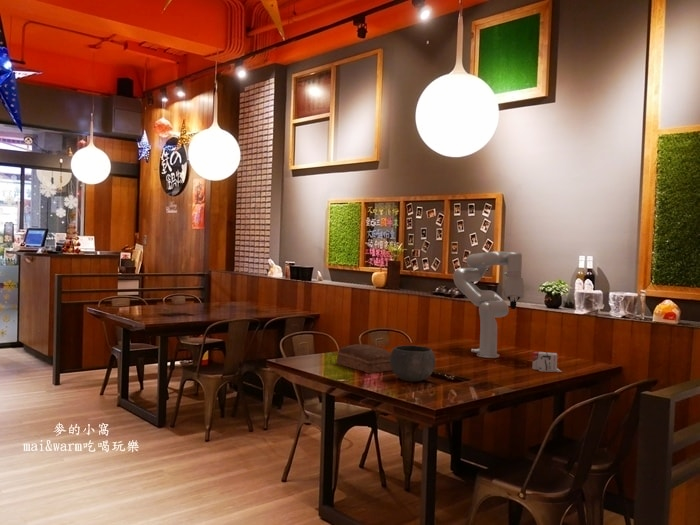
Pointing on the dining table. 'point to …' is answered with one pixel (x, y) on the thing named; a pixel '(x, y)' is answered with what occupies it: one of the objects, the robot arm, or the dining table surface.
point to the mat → (551, 371)
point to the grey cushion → (365, 358)
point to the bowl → (412, 362)
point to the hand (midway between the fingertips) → (513, 308)
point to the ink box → (544, 361)
